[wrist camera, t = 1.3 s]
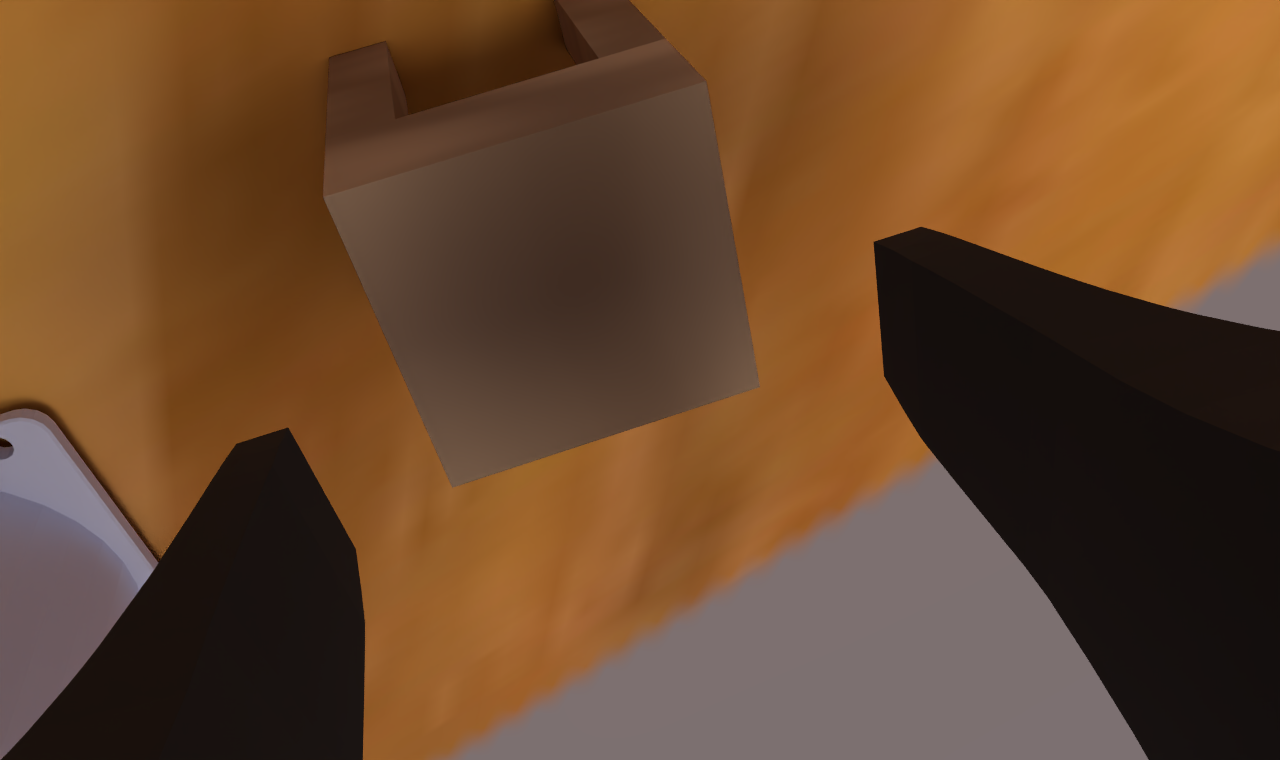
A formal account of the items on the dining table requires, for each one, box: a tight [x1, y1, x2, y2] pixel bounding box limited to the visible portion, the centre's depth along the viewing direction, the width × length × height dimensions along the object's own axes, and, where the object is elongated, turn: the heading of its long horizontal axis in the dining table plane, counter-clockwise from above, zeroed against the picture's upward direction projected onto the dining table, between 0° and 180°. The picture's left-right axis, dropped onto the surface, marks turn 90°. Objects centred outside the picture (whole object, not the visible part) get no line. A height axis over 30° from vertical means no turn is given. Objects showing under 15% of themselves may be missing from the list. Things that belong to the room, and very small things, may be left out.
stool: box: [323, 0, 760, 488], centre depth 16 cm, size 5×5×6 cm
